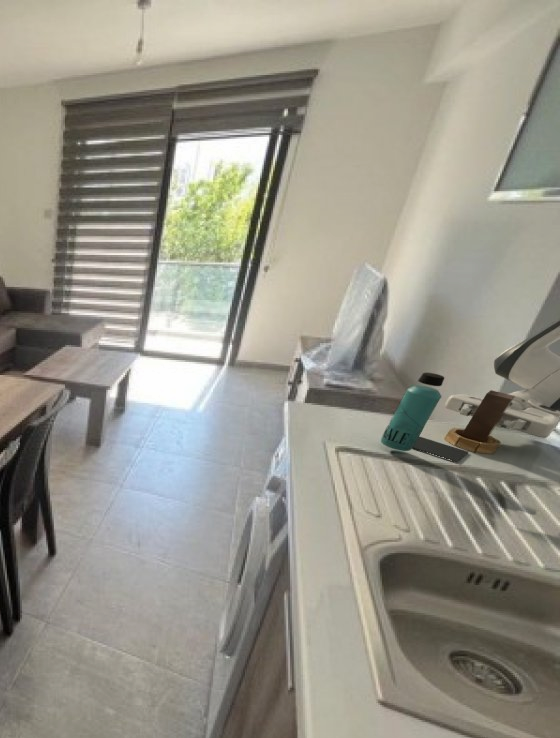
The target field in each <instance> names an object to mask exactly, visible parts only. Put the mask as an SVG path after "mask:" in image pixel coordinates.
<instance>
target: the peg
mask: <svg viewBox="0 0 560 738" xmlns="http://www.w3.org/2000/svg"><path fill="white" fill-rule="evenodd" d="M514 397H515V396H513V395H509V393H504V392H500V391H496V390H489V391H487V393H485V395H484V397H483V400H482V402H481V403H480V405H479V407H478V408H477V410H476V412H475V413H474V415H473V416H471V418H470V420H469V422H468V423H467V425H466V426H465V428H464V429H465V430H464V431H463V433H462V435H461V436H462V437H464V438H467V439H470V440H474V441H477V442H483V443H485V442H486V440H487V439H488V437H489V436H491V435H492V434H493V431H494V430H495V428H497V427H496V425H497V423H498V422H499V420H500V419H501V417H502V416H503V414H504V413H505V411H506V409H507V408H508V406H509V405H510V403H511V402H512V400H513V399H514Z"/></svg>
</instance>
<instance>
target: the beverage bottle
mask: <svg viewBox="0 0 560 738" xmlns="http://www.w3.org/2000/svg"><path fill="white" fill-rule="evenodd" d="M444 380H445V376H443V375H441V374H438V373H433V372H423V373H421V375H420V377H419V378H418V380H417V381H418V383H421V384H423V385H418V384H416V385H413V386H410V387H408V388H407V389H406V391H405V394H404V396H403V397H402V399H401V400H400V402H399V403H398V405H397V407H396V410H395V411H394V413H393V416H392V417H391V419H390V420H389V422H388V424H387V426H386V428H385V429H384V432H383V433H382V436H381V438H380V443H381V444H382V445H383V446H385V447H388V448H390V449H392V450H396V451H402V452H409V451H412V450H413V449H412V448H413V446H414V445H415V443H416V441H417V439H418V438H419V436H420V437H421V434H422V432H423V431H424V428H425V426H426V424H427V422H428V420H429V419H430V417H431V416H432V414H433V412H434V410H435V408H436V407H437V405H438V403H439V401H440V400H441V399H442V394H441V393H440V391H439V389H436V388H434V387H442V385H443V383H444ZM431 386H433V387H431Z"/></svg>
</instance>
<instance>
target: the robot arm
mask: <svg viewBox="0 0 560 738" xmlns="http://www.w3.org/2000/svg"><path fill="white" fill-rule="evenodd" d="M559 340H560V317H559V318H558V319H556V320H554V321H552V322H551V323H549V324H548V325H547V326H545V327H544V328H541V329H540V330H539V331H537V332H535V333H534V334H532V335H531V336H529V337H528V338H526V339H524V340H523V341H521V342H519V343H517V344H515V345H512V346H511V347H508V348H507V349H506V350H504V351H502V352H500V354H499V355H498V356H497V357H496V358H495V359H494V360H493V369H494V373H495V375H497V376H499V377H501V378H504V379H506V380H507V381H511V382H512V383H514V384H516V385H517V386H519V387H521V388H522V390H517V391H513V392H510V393H508V394H509V395H513V396H515V397H514V399H513V400H512V402H511V403H510V405H509V406H508V408H507V409H506V411H505V413H504V414H503V416H502V417H501V419H500V420H499V422H498V423H497V425H496V427H495V428H499V429H506V430H514V431H518V432H521V433H525V434H528V435H530V436H534V437H538V438H543V439H546V438H548V437H550V435H551V434H552V433H553V431H554V429H556V427H557V426H558V425H559V422H560V355H558V354H556V353H555V352H553V351H551V350H550V348H549V347H550V345H552V344H554V343H555V342H557V341H559ZM483 399H484V397H479V396H476V395H471V394H466V393H459V394H457V393H456V394H452V395H451V394H450V395H449V396H448V398H447V400H446V401H445V403H444V407H445V409H447V410H450V411H454V412H457V413H459V415H461V416H464V417H473V415H474V413H475V412H476V410H477V408H478V407H479V405H480V403H481V402H482V400H483Z"/></svg>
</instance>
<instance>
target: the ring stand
mask: <svg viewBox="0 0 560 738" xmlns="http://www.w3.org/2000/svg"><path fill="white" fill-rule="evenodd" d="M464 430H465V428H461V427H459V428H458V427H452V428H451V429H449V431H447V434H446V435H445V437H444V441H446V442H448V443H449V442H450V443H449V444H451V445H452V444H453V447H455V448H459V447H460V448H459V449H462V450H465V451H468V452H472V453H474V452H475V453H478V454H485V455H486V454H487V455H493V454H494V453H496V451H497V449H498V448H499V447H500V445H501V443H502V442H501V440H499V439H497V438H495V437H493V436H491V435H490V436H489V437H488V439H487V440H486V442H485V443H483V442H477V441H474V440H470V439H467V438H464V437H462V436H461V435H462V433H463V431H464Z"/></svg>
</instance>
